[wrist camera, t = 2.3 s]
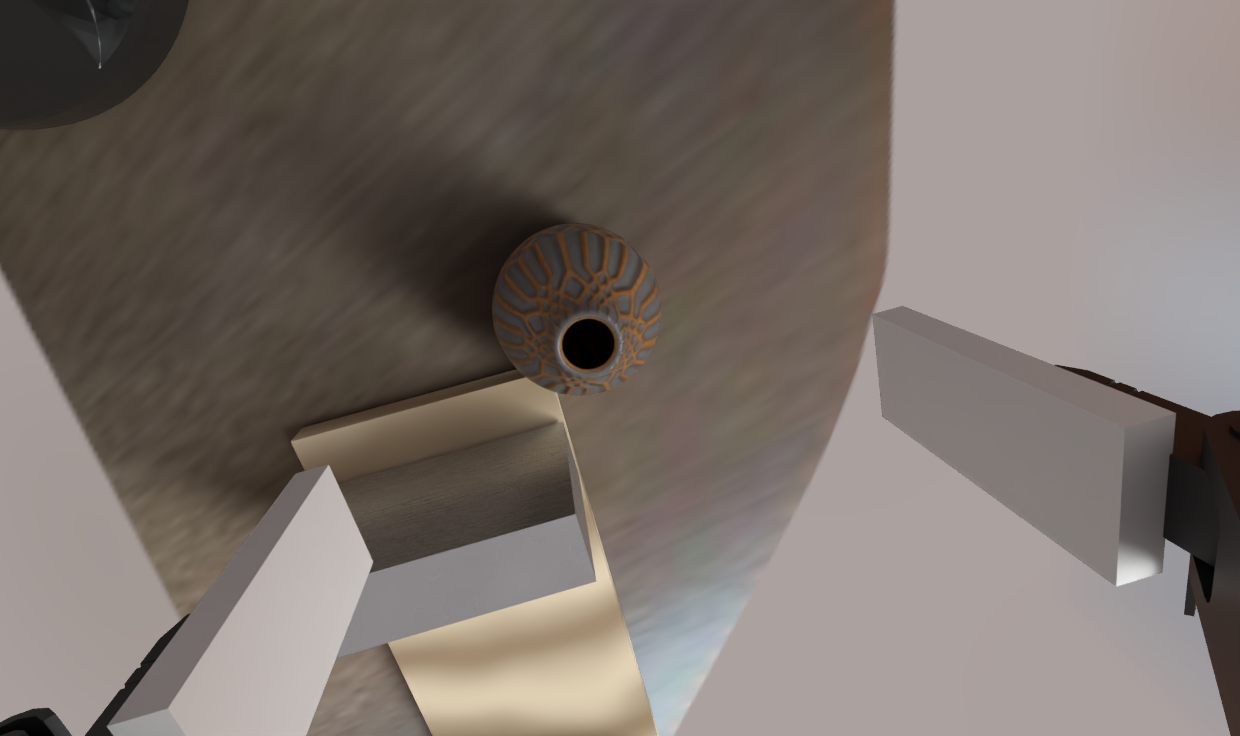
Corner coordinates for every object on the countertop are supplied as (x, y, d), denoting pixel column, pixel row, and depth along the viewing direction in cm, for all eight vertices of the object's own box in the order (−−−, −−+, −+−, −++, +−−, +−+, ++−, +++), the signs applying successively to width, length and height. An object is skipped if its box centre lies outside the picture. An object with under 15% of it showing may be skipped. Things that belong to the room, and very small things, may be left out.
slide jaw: (311, 491, 28) (233, 612, 21) (562, 421, 29) (575, 513, 22) (336, 544, 29) (271, 677, 22) (579, 475, 30) (596, 581, 23)
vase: (512, 199, 27) (506, 218, 19) (659, 235, 29) (713, 269, 20) (483, 345, 29) (466, 420, 21) (623, 372, 31) (658, 453, 22)
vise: (302, 427, 29) (203, 547, 20) (547, 360, 30) (555, 448, 21) (483, 814, 39) (471, 1008, 30) (665, 757, 40) (705, 931, 31)
